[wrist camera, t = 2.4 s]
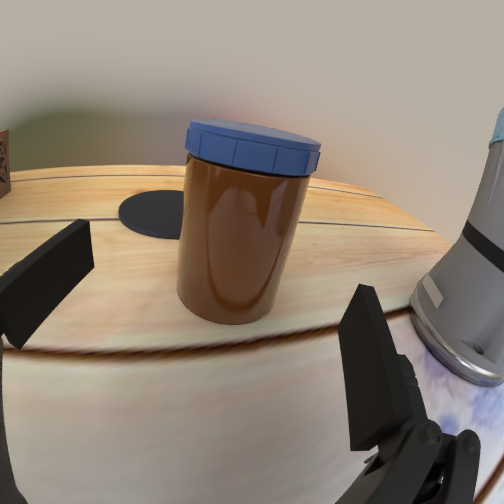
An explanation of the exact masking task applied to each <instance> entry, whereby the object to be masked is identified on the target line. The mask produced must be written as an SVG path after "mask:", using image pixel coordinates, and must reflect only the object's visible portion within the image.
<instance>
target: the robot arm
mask: <svg viewBox="0 0 504 504" xmlns="http://www.w3.org/2000/svg"><path fill="white" fill-rule="evenodd" d="M93 268H94V260H93V252H92V243H91V234H90V222H89V221H86V220H82V219H77V220H76V221H74V222H73V223H71V224H70V225H68V226H67V227H66V228H64V229H63V230H61V231H60V232H58V233H57V234H56V235H54V236H53V237H51V238H50V239H49V240H47V241H46V242H45V243H43V244H42V245H41V246H39V247H38V248H37V249H35V250H34V251H33V252H31V253H30V254H29V255H28V256H26V257H25V258H24V259H23V260H21V261H19V262H17V263H15V264H14V265H13V266H12V267H11V268H9V270H8V271H6V272H5V273H3V276H2V275H1V276H0V504H28V503H27V501H26V500H25V498H24V497H23V496H22V495H21V493H20V492H19V491H18V489H17V487H16V484H15V480H14V476H13V472H12V467H11V463H10V458H9V452H8V447H7V440H6V433H5V425H4V415H3V400H2V357H3V339H2V337H1V336H2V335H3V334H5V336H6V337H7V339H8V341H9V343H10V344H12V345H13V346H14V347H16V348H17V349H19V350H20V349H21V348H22V346H23V345H24V344H25V343H26V342H27V340H28V339H29V338H30V337H31V335H32V334H33V333H34V332H35V331H36V329H37V328H38V327H39V326H40V325H41V324H42V322H43V321H44V320H45V319H46V318H47V317H48V316H49V314H50V313H51V312H52V311H53V310H54V309H55V308H56V307H57V306H58V304H59V303H60V302H61V301H62V300H63V299H64V298H65V297H66V296H67V295H68V294H69V293H70V292H71V291H72V290H73V288H74V287H75V286H76V285H77V284H78V283H79V282H80V281H81V280H82V279H83V278H84V277H85V276H86V275H87V274H88V273H89V272H90V271H91V270H92V269H93ZM409 310H410V314H411V318H412V320H413V323H414V325H415V327H416V329H417V331H418V333H419V334H420V336H421V338H422V339H423V341H424V342H425V343H426V345H427V346H428V347H429V349H430V350H431V351H432V352H433V353H434V354H435V356H436V357H437V358H438V359H439V360H440V361H441V362H442V363H443V364H445V365H446V366H447V367H448V368H449V369H450V370H452V371H453V372H454V373H456V374H457V375H459V376H460V377H462V378H463V379H465V380H467V381H469V382H471V383H474V384H476V385H480V386H484V387H494V386H498V385H500V384H502V383H503V382H504V107H503V108H502V110H501V111H500V113H499V115H498V118H497V122H496V127H495V130H494V134H493V138H492V139H491V141H490V143H489V155H488V158H487V162H486V165H485V169H484V172H483V176H482V179H481V182H480V185H479V188H478V191H477V195H476V197H475V200H474V203H473V206H472V208H471V211H470V213H469V216H468V218H467V221H466V223H465V226H464V228H463V231H462V233H461V235H460V237H459V239H458V240H457V242H456V243H455V244H454V245H453V246H452V248H451V249H450V250H449V251H448V252H447V253H446V254H445V255H444V256H443V257H442V258H441V259H440V260H439V262H438V263H437V264H436V265H435V266H434V267H433V268H432V269H431V270H430V272H429V273H428V272H427V273H426V275H425V276H424V277H423V278H422V279H421V280H420V281H419V283H418V284H417V286H416V288H415V290H414V292H413V293H412V295H411V297H410V301H409ZM337 329H338V336H339V343H340V350H341V357H342V364H343V372H344V381H345V390H346V399H347V410H348V421H349V435H350V451H369V450H370V449H372V448H373V447H375V446H376V445H378V451H379V452H377V453H376V454H374V455H373V456H371V457H370V458H368V459H367V460H366V461H364V463H365V464H366V463H368V462H369V461H370V462H369V463H368V465H367V466H366V467H365V468H364V470H363V471H362V472H361V474H360V475H359V476H358V477H357V479H356V480H355V481H354V482H353V483H352V485H351V486H350V487H349V488H348V489H347V491H346V492H345V493H344V494H343V495H342V496H341V497H340V498H339V499H338V501H337V502H336V503H335V504H472V502H473V497H474V492H475V487H476V481H477V475H478V468H479V460H480V449H481V445H480V440H479V437H478V436H477V434H476V433H475V432H474V431H472V430H468V429H466V430H464V431H462V432H461V433H460V434H458V435H457V436H454V435H450V434H445V433H442V431H441V429H440V427H439V425H438V424H437V423H436V422H434V421H432V420H430V419H428V417H427V414H426V410H425V406H424V403H423V399H422V396H421V392H420V389H419V387H418V382H417V379H416V378H415V376H416V375H415V372H414V369H413V366H412V364H411V363H410V361H409V360H408V358H407V357H406V356H405V355H400V354H397V351H396V348H395V345H394V342H393V339H392V336H391V333H390V330H389V327H388V324H387V321H386V319H385V316H384V313H383V310H382V308H381V305H380V302H379V300H378V297H377V294H376V292H375V289H374V287H372V286H367V285H363V284H359V285H358V287H357V289H356V291H355V293H354V295H353V297H352V299H351V301H350V303H349V305H348V307H347V309H346V311H345V313H344V315H343V317H342V319H341V321H340V323H339V325H338V327H337ZM442 477H443V480H442V484H441V479H442Z"/></svg>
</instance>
